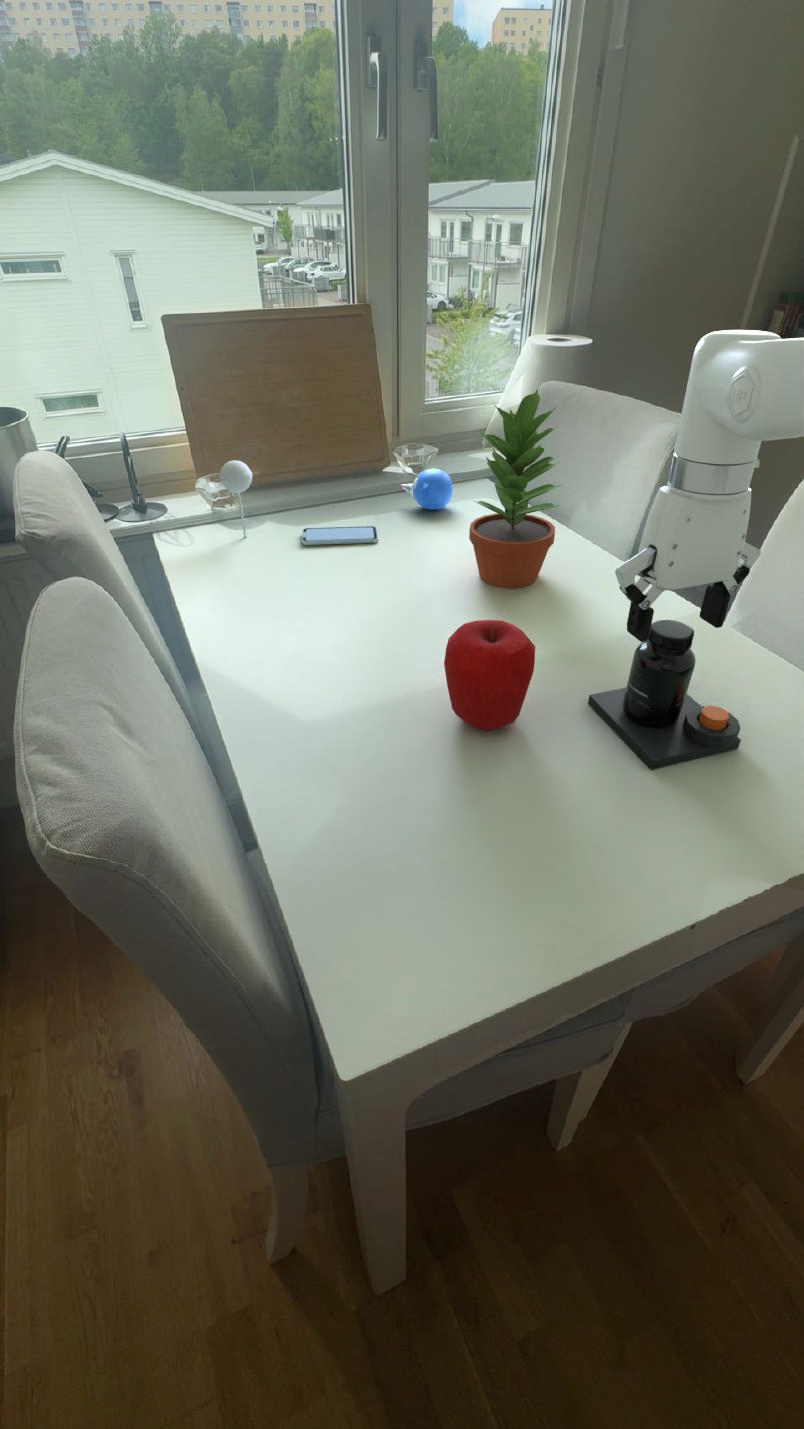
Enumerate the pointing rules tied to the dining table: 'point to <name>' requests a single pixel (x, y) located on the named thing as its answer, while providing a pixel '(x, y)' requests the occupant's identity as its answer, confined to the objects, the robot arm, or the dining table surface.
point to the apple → (488, 672)
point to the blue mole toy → (431, 489)
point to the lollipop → (236, 480)
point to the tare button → (713, 718)
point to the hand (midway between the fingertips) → (673, 629)
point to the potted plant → (515, 503)
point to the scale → (666, 732)
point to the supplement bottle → (660, 675)
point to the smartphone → (339, 535)
